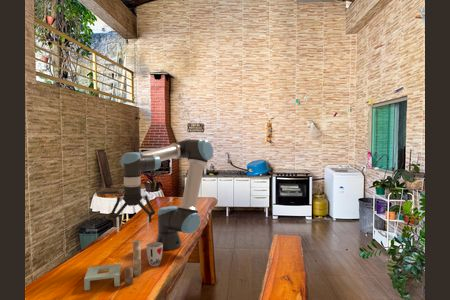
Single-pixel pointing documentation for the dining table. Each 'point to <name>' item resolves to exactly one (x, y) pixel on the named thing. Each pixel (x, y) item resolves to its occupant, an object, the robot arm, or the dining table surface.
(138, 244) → the long pin
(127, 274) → the short pin
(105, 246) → the dining table surface
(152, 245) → the cup
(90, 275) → the bridge
